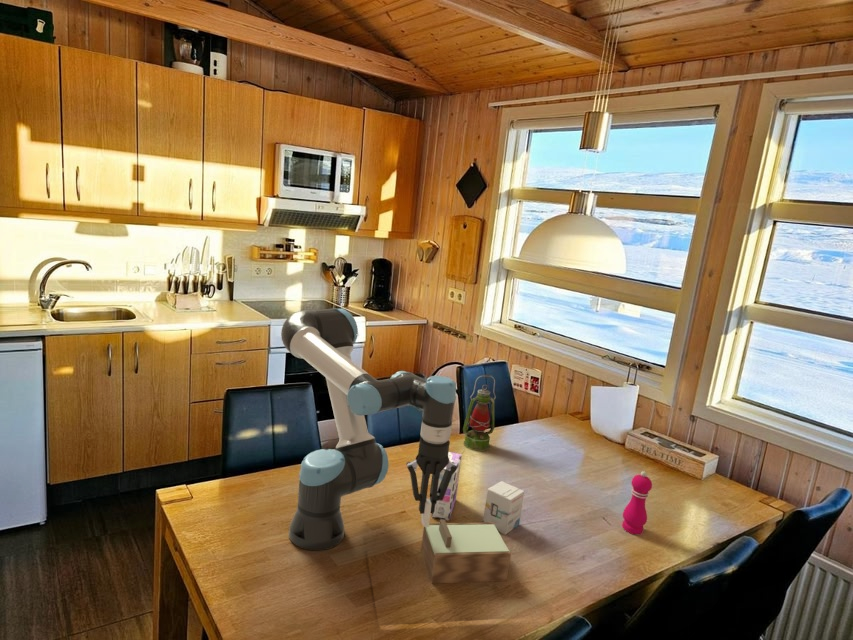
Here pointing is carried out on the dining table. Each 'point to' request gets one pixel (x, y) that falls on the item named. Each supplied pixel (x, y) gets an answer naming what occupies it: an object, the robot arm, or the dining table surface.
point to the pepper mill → (637, 505)
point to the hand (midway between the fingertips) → (424, 523)
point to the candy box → (448, 490)
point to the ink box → (503, 506)
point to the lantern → (479, 420)
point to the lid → (465, 538)
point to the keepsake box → (464, 563)
